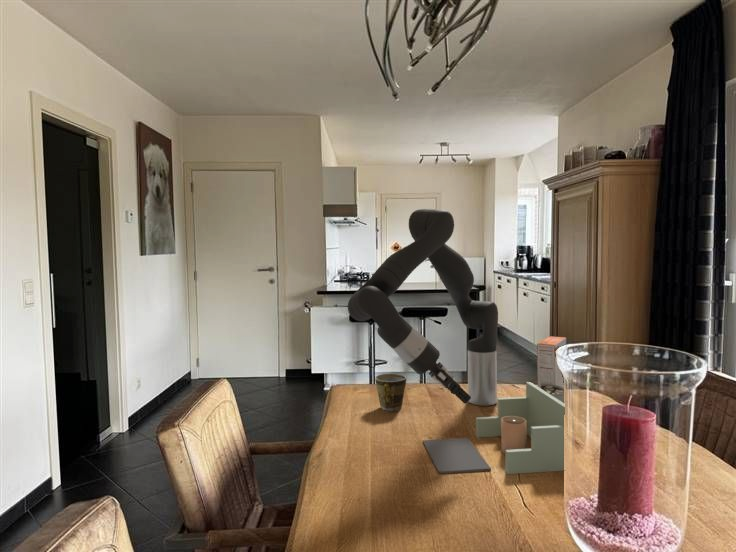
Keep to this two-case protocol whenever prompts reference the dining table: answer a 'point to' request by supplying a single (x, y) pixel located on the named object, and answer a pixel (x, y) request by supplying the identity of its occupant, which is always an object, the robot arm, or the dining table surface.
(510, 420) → the pink and brown cylinder
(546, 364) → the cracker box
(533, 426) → the stepped shelf frame
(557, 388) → the food container
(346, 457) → the dining table surface
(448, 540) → the dining table surface
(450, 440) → the charcoal mat
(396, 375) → the ceramic cup
